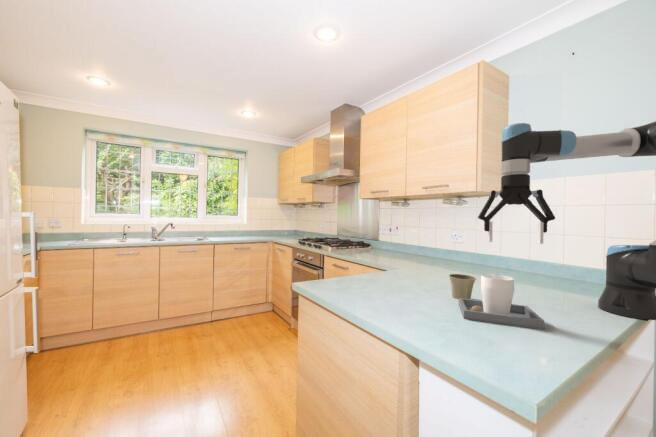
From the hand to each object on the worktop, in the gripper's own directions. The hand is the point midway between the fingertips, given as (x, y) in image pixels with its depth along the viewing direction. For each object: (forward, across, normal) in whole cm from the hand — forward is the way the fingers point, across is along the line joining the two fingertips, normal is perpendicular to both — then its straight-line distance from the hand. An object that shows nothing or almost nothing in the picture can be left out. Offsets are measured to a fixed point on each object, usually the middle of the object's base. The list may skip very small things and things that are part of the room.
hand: (514, 242), depth 88 cm
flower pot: (+23, +13, -14) cm, 30 cm away
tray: (+23, +5, +3) cm, 24 cm away
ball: (+22, +11, +7) cm, 26 cm away
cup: (+23, +5, +3) cm, 24 cm away
